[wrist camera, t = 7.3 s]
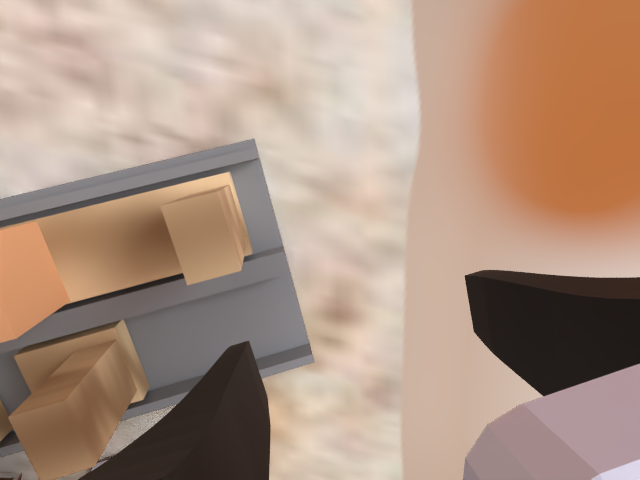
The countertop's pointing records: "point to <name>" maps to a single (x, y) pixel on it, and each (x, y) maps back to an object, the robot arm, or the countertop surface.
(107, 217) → the oak strip
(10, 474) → the food container
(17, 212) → the lane board
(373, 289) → the countertop surface
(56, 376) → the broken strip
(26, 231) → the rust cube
